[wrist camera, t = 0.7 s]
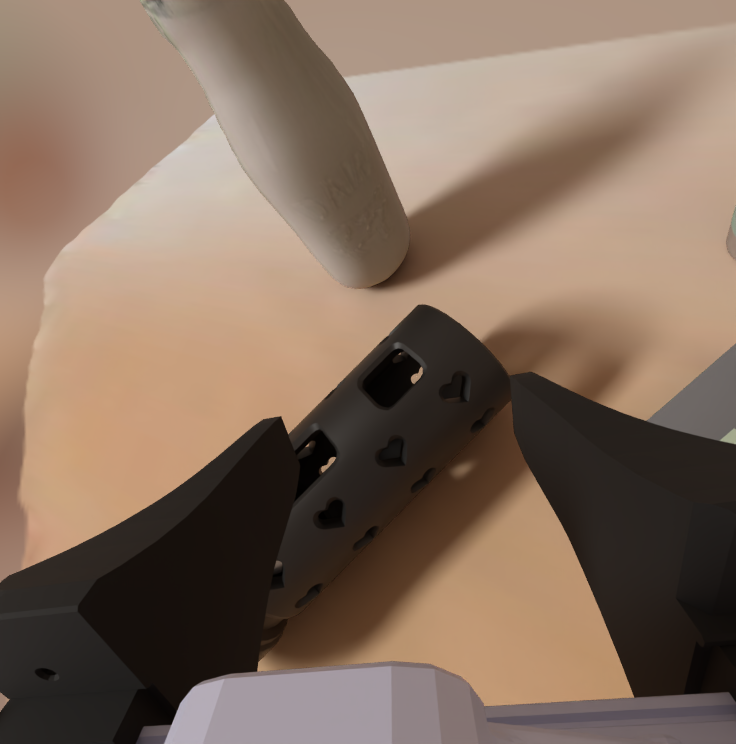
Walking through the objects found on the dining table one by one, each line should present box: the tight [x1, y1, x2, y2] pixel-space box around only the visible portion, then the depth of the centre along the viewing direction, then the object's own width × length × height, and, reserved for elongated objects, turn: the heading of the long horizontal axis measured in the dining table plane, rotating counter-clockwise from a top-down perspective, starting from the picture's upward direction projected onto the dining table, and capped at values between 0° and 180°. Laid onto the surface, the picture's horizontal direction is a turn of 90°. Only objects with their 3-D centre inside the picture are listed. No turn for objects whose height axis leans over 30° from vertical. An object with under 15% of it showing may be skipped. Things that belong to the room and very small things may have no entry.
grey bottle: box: [140, 0, 410, 289], centre depth 30 cm, size 10×10×28 cm
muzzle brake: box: [258, 305, 511, 662], centre depth 26 cm, size 10×28×10 cm, turn 129°
